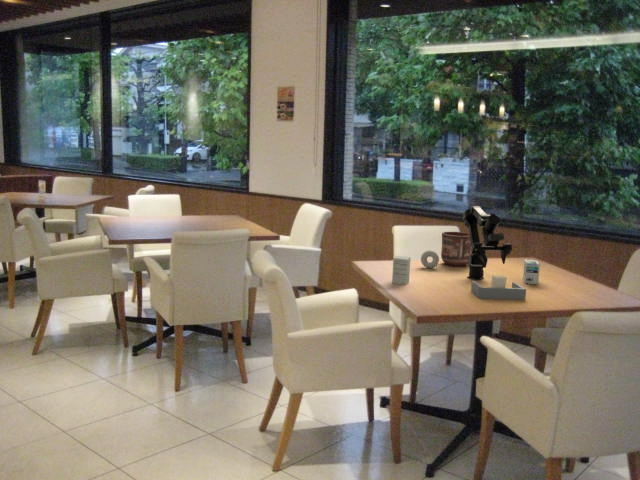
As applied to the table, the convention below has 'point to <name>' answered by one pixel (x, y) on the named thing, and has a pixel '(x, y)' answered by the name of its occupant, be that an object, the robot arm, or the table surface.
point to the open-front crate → (499, 292)
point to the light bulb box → (531, 271)
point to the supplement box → (401, 270)
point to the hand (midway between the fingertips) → (494, 263)
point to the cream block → (498, 281)
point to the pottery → (455, 248)
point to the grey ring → (431, 254)
